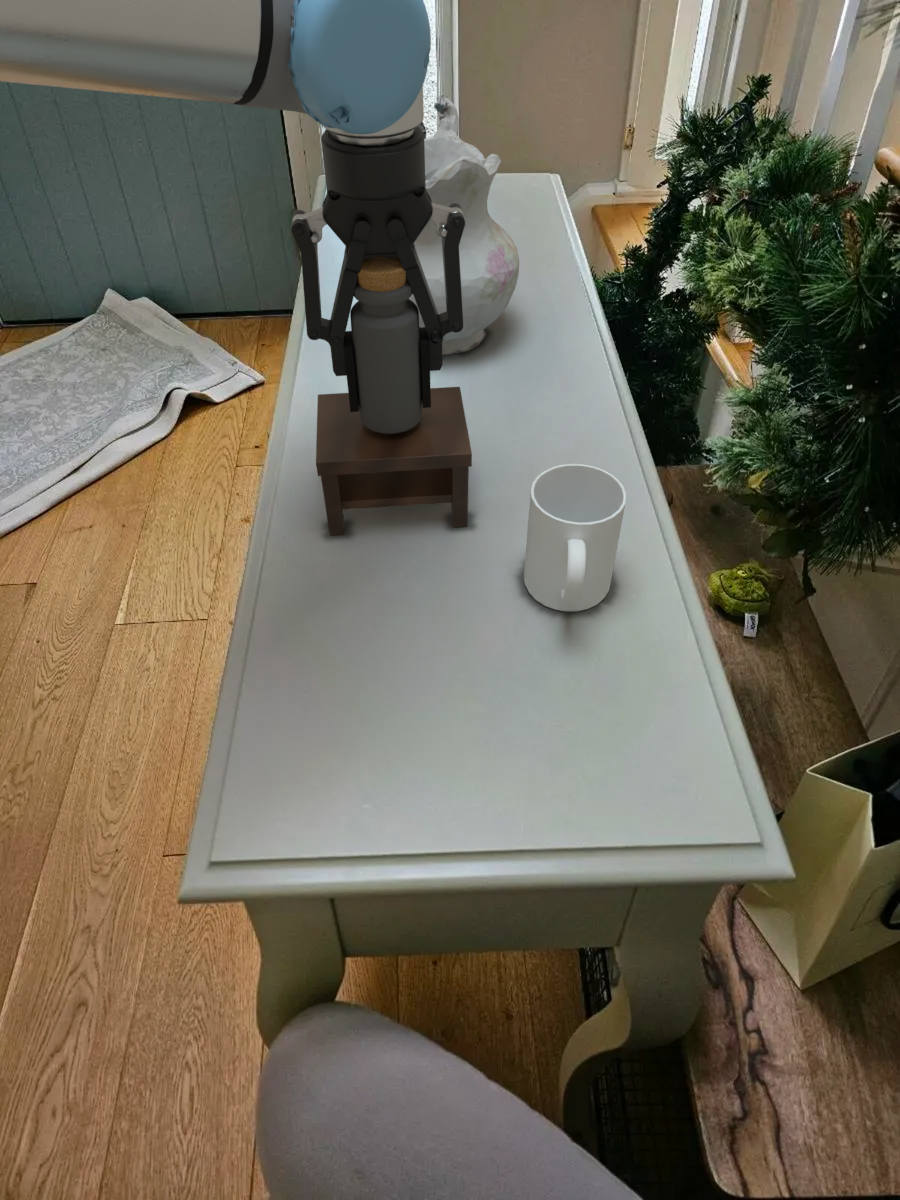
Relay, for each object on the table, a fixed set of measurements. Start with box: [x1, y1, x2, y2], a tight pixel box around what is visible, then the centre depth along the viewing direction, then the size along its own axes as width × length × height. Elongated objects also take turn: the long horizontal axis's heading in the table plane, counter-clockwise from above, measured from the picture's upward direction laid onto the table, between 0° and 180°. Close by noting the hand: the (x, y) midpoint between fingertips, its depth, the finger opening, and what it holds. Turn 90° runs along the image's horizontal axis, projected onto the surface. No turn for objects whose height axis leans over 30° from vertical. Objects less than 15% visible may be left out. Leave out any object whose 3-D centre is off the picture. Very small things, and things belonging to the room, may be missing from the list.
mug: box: [523, 463, 627, 612], centre depth 73 cm, size 12×8×10 cm, turn 174°
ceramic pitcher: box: [409, 94, 520, 356], centre depth 101 cm, size 22×20×25 cm
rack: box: [315, 386, 473, 536], centre depth 84 cm, size 14×11×9 cm
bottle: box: [349, 257, 422, 434], centre depth 75 cm, size 6×6×15 cm
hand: (390, 401), depth 79 cm, fingers closed on bottle, 6 cm apart
